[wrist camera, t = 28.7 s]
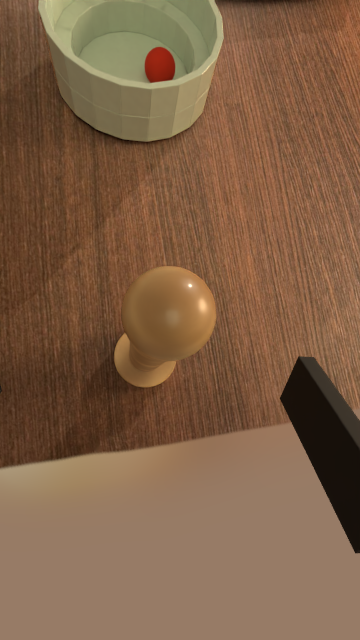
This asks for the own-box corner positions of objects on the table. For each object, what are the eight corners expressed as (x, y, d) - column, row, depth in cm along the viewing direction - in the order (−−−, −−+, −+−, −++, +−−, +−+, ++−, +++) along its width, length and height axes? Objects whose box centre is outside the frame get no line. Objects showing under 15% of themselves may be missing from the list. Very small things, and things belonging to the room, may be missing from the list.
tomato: (138, 79, 31) (137, 45, 28) (161, 67, 31) (163, 34, 29) (156, 99, 30) (157, 67, 27) (179, 87, 31) (183, 55, 28)
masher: (101, 358, 25) (46, 301, 8) (143, 315, 26) (170, 192, 10) (146, 400, 25) (182, 429, 8) (186, 355, 26) (288, 299, 9)
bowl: (22, 81, 29) (-5, 5, 23) (118, 0, 33) (116, -81, 27) (152, 174, 29) (157, 121, 23) (232, 82, 33) (253, 18, 27)
